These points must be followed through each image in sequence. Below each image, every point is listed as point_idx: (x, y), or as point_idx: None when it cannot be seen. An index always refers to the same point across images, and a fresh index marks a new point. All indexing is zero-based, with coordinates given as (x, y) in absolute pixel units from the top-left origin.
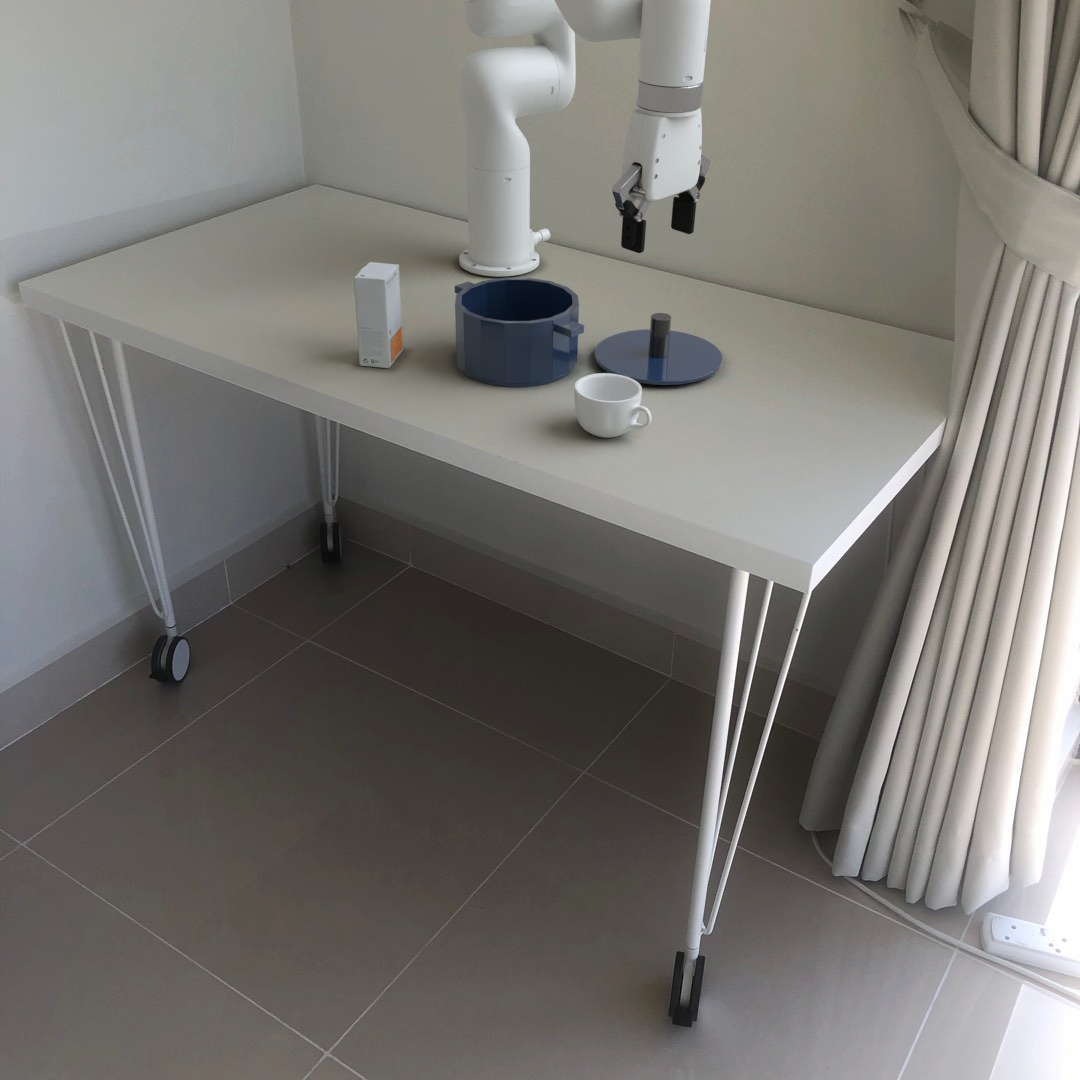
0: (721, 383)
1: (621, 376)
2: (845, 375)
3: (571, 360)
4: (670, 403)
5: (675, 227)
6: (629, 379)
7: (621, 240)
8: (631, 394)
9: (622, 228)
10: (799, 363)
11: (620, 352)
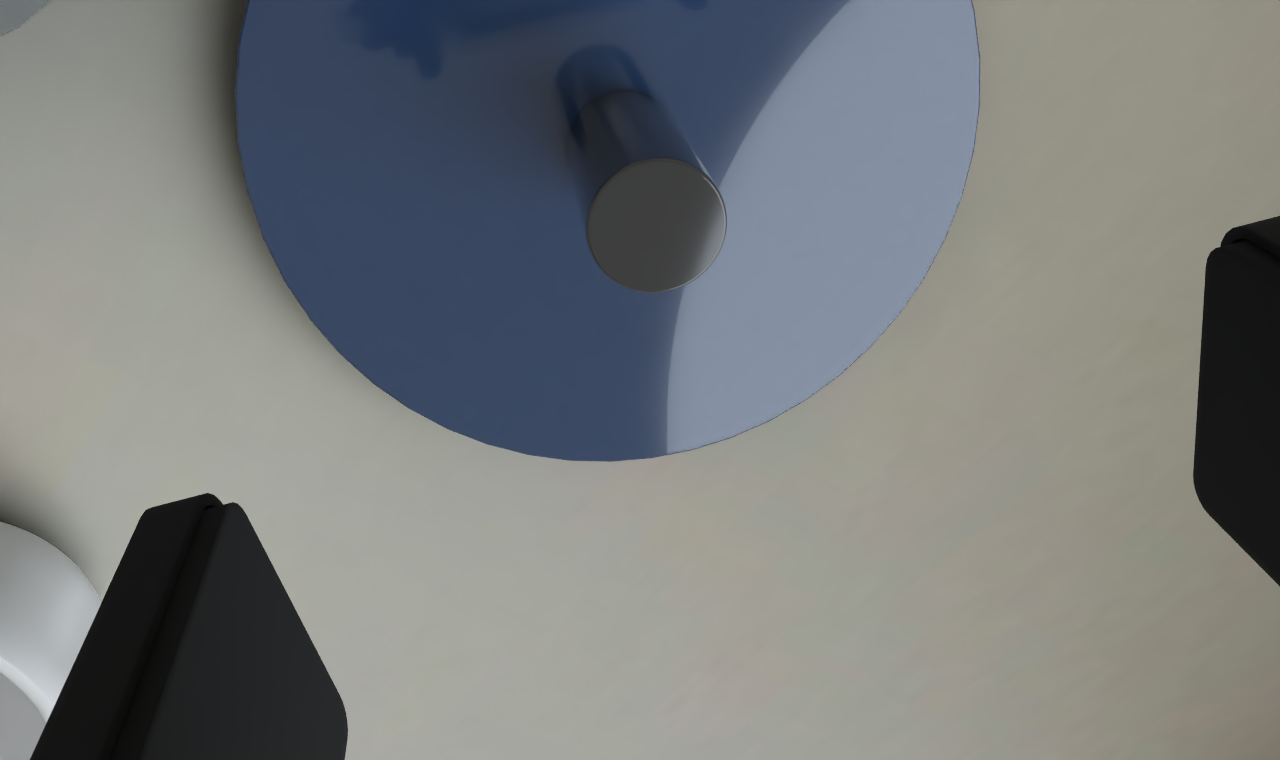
0: (719, 466)
1: (17, 682)
2: (1169, 609)
3: (26, 11)
4: (392, 520)
5: (1221, 324)
6: (44, 720)
7: (126, 554)
8: None
9: (72, 686)
10: (1140, 461)
11: (435, 9)
